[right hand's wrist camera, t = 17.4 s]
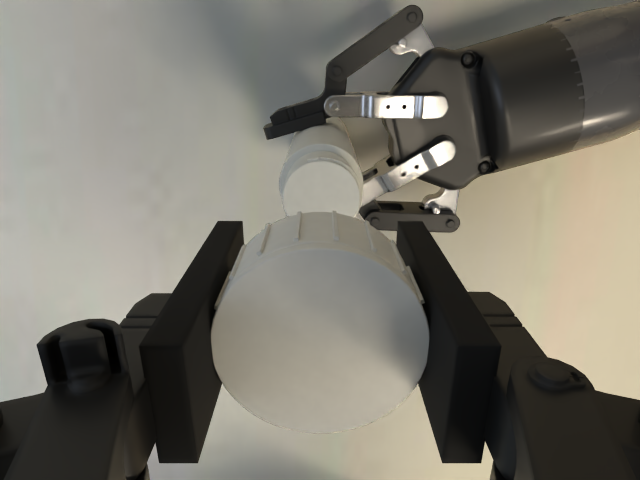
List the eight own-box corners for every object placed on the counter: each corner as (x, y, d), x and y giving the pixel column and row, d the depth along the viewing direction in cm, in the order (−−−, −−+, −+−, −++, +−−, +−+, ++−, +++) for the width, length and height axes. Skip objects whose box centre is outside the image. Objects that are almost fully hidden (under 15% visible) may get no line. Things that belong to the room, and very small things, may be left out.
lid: (254, 183, 11) (237, 214, 9) (442, 242, 12) (471, 286, 9) (208, 345, 13) (184, 406, 10) (374, 389, 13) (385, 456, 11)
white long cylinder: (352, 159, 35) (374, 233, 20) (300, 170, 35) (286, 249, 21) (342, 105, 33) (359, 144, 19) (289, 117, 33) (264, 163, 19)
